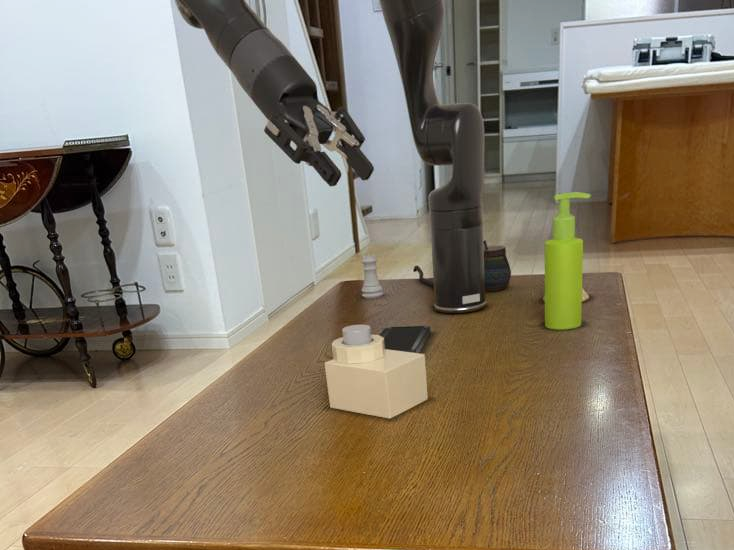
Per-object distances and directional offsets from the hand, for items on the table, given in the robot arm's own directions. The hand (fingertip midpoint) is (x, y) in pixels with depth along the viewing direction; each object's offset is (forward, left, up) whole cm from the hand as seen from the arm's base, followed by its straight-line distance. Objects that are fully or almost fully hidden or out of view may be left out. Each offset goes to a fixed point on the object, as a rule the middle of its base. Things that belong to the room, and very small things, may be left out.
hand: (353, 177), depth 105 cm
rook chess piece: (-53, +20, -26) cm, 62 cm away
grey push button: (+9, -5, -19) cm, 21 cm away
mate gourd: (-41, +41, -26) cm, 63 cm away
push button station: (+11, -3, -26) cm, 29 cm away
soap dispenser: (-8, +37, -26) cm, 46 cm away
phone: (-14, +10, -26) cm, 31 cm away
